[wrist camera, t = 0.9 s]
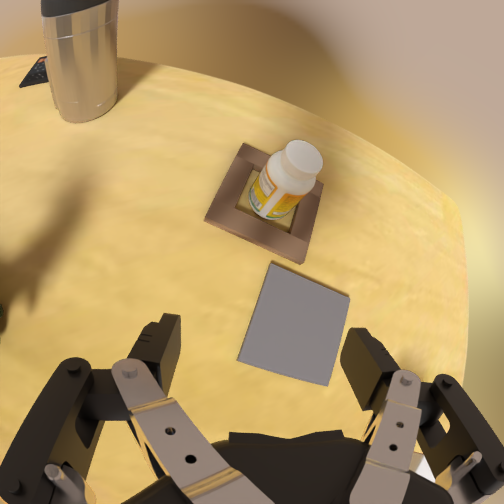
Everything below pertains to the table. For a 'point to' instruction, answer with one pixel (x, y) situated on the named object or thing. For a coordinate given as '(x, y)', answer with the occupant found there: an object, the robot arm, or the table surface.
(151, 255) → the table surface
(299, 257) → the walnut dock
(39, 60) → the black flat block
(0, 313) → the toy figurine
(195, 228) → the table surface
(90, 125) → the table surface
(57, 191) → the table surface
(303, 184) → the supplement bottle
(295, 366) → the charcoal mat
